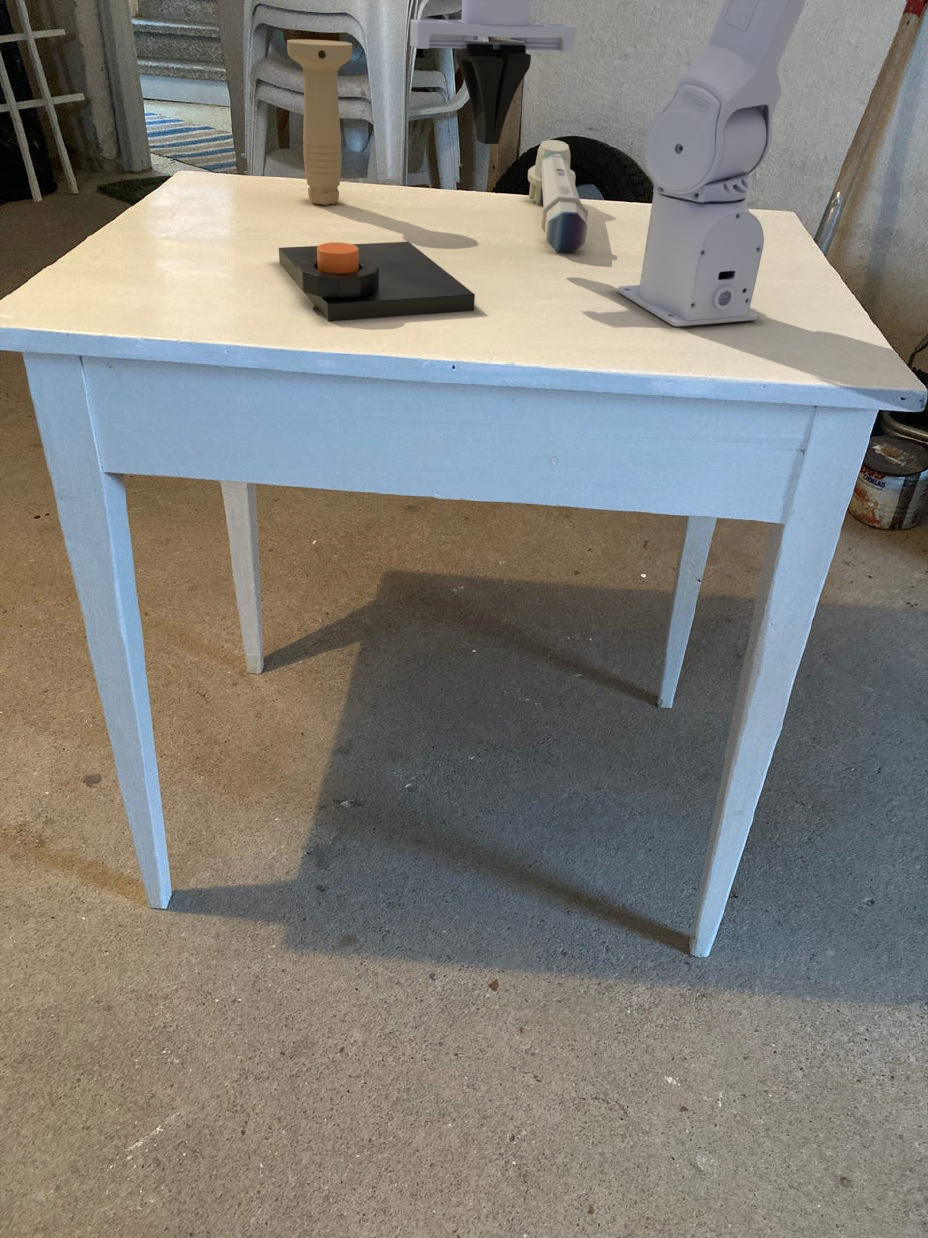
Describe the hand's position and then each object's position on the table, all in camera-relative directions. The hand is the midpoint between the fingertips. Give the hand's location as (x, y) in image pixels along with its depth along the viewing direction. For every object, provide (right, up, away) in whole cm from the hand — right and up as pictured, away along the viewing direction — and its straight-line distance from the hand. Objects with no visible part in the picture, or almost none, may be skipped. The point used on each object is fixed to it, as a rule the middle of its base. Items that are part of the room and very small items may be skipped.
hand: (487, 141), depth 89 cm
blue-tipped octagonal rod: (+8, -1, +16) cm, 18 cm away
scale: (-10, -15, -6) cm, 19 cm away
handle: (-17, +2, +18) cm, 25 cm away
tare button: (-12, -16, -12) cm, 23 cm away
